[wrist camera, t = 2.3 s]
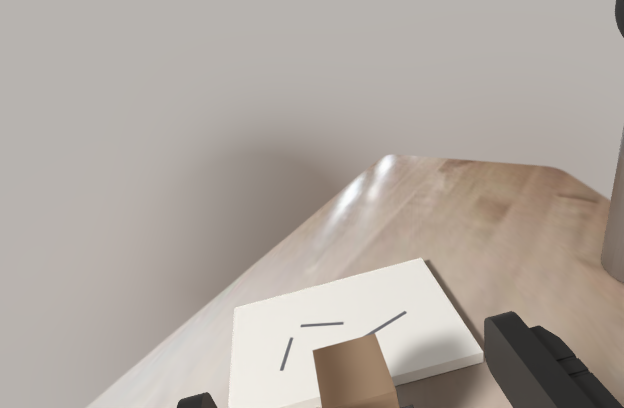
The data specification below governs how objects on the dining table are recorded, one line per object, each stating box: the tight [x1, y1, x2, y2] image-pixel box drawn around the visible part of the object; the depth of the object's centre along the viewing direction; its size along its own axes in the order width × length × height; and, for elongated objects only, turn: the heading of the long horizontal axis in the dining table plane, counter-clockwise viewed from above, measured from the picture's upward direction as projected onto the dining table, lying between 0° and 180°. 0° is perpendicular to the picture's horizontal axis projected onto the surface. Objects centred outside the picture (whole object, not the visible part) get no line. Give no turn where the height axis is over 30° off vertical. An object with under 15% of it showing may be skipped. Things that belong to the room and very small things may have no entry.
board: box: [228, 258, 484, 408], centre depth 45 cm, size 26×16×2 cm, turn 98°
